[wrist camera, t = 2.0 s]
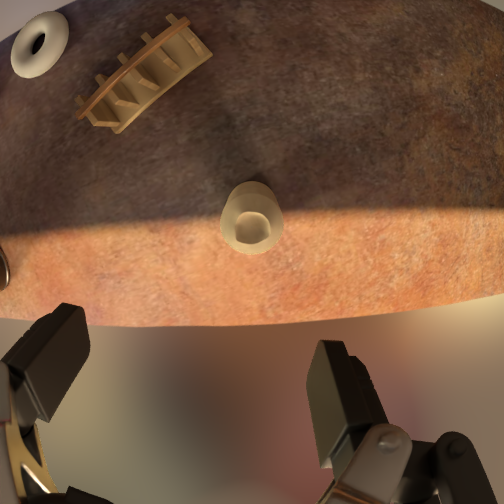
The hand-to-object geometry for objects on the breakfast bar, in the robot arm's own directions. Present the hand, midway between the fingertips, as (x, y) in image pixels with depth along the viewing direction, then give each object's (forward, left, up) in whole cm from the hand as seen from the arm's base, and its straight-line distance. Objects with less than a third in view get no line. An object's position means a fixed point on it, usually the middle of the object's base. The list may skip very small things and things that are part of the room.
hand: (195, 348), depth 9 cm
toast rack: (+1, +17, -26) cm, 31 cm away
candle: (+1, -2, -26) cm, 27 cm away
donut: (-7, +34, -26) cm, 44 cm away
